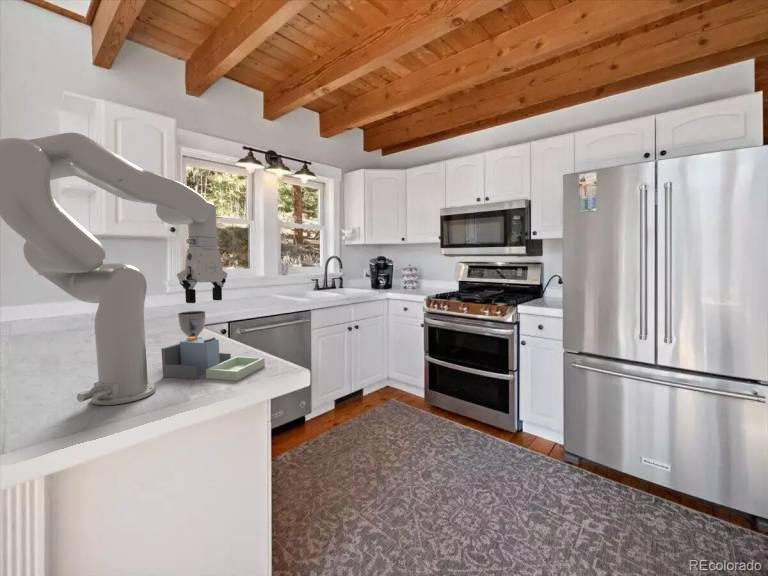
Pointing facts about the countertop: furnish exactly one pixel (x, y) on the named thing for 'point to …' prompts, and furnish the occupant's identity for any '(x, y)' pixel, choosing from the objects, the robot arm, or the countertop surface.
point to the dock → (173, 363)
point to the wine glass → (192, 322)
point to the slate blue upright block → (200, 353)
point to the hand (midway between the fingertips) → (204, 301)
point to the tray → (235, 368)
